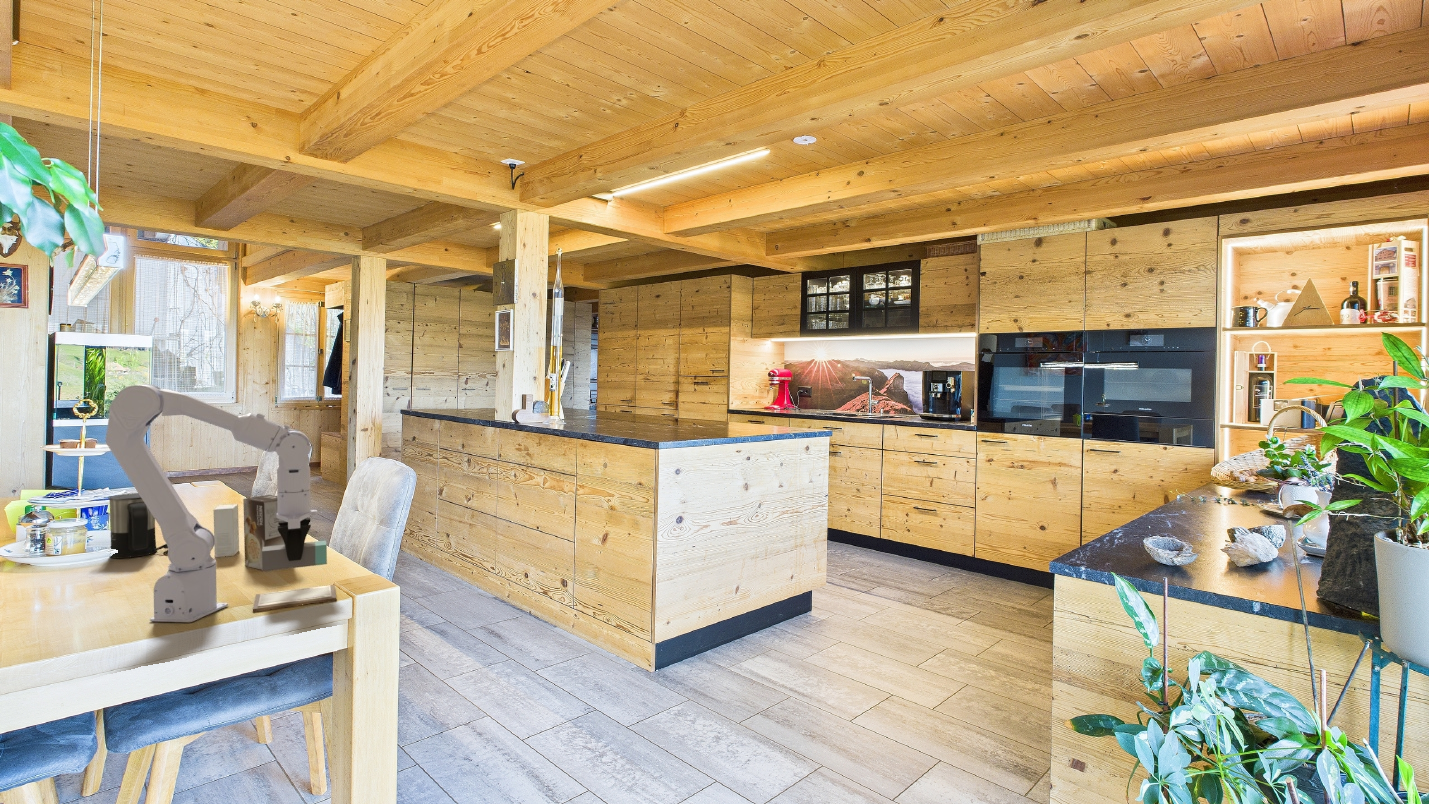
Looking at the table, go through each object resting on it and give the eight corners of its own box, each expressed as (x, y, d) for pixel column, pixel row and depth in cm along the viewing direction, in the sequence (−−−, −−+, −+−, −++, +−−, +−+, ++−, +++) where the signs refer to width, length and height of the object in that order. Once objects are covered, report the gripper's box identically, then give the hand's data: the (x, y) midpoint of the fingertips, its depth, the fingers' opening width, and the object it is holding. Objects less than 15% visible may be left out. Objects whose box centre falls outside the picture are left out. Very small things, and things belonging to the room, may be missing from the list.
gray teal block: (262, 571, 136) (262, 551, 135) (263, 566, 139) (263, 546, 139) (326, 564, 141) (326, 544, 141) (326, 559, 145) (326, 540, 144)
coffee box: (293, 564, 165) (292, 497, 164) (265, 571, 159) (264, 501, 158) (270, 559, 169) (269, 494, 168) (242, 565, 163) (241, 498, 163)
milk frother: (100, 556, 170) (99, 496, 170) (172, 542, 185) (171, 487, 184) (134, 563, 165) (133, 501, 164) (205, 548, 179) (204, 491, 178)
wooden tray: (252, 612, 132) (252, 607, 132) (255, 597, 141) (255, 593, 141) (336, 600, 139) (336, 596, 139) (334, 587, 148) (334, 583, 148)
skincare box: (219, 551, 175) (218, 504, 175) (239, 550, 177) (238, 503, 177) (213, 557, 170) (212, 509, 169) (234, 556, 172) (233, 508, 171)
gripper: (317, 494, 135) (318, 563, 136) (316, 484, 148) (317, 547, 148) (274, 497, 132) (275, 568, 132) (277, 486, 144) (278, 551, 145)
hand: (294, 557), depth 140 cm, fingers closed on gray teal block, 4 cm apart
